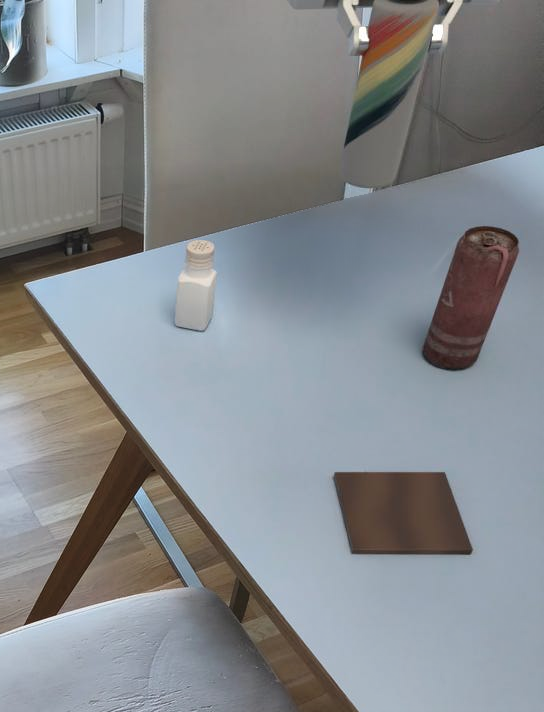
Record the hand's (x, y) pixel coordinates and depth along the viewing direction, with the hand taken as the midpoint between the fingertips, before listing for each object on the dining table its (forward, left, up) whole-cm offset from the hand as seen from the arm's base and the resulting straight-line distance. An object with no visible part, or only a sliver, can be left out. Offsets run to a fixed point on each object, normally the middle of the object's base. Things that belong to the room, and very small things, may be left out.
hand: (397, 51), depth 81 cm
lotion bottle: (0, -1, -12) cm, 12 cm away
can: (-13, +3, -30) cm, 33 cm away
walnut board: (-2, +29, -30) cm, 42 cm away
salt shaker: (+16, -5, -30) cm, 34 cm away
